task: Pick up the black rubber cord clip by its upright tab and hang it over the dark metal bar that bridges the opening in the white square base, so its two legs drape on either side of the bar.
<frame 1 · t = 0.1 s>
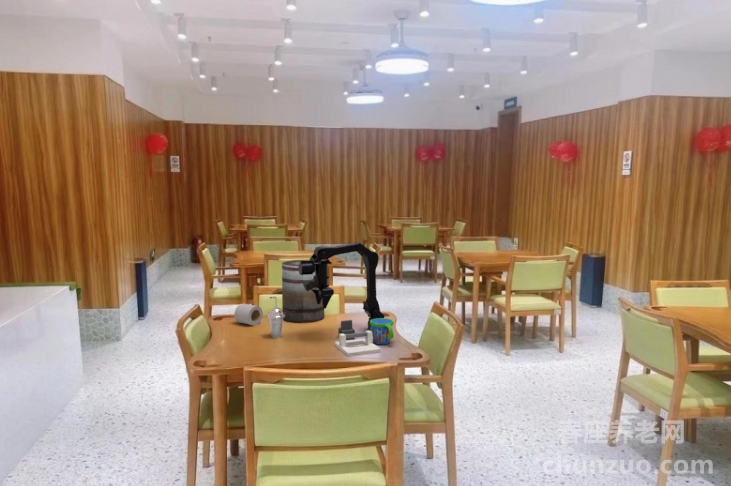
hand: (321, 306, 232), 15 cm above the table, tool pointing down, fingers open, 9 cm apart
white square base: (355, 347, 218), on the table
barrel: (303, 318, 268), on the table
toilet paper: (248, 324, 255), on the table
cord clip: (346, 338, 231), on the table
cup with straw: (275, 336, 233), on the table
snack cup: (381, 343, 225), on the table
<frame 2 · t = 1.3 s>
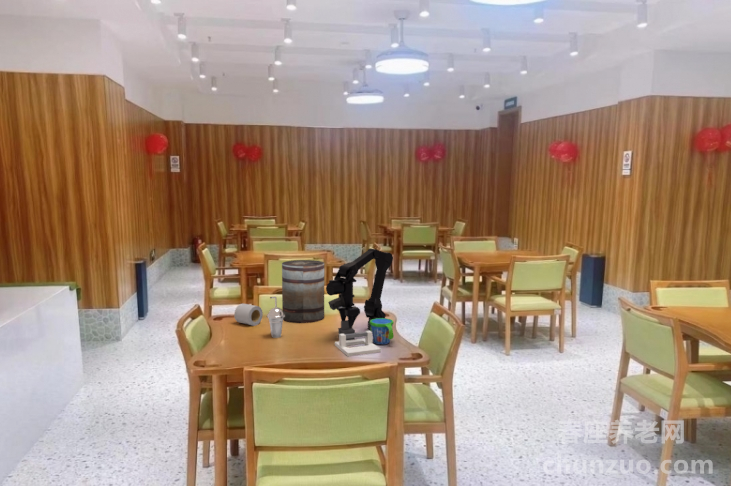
hand: (346, 325, 231), 6 cm above the table, tool pointing down, fingers open, 9 cm apart
nothing on the table moved.
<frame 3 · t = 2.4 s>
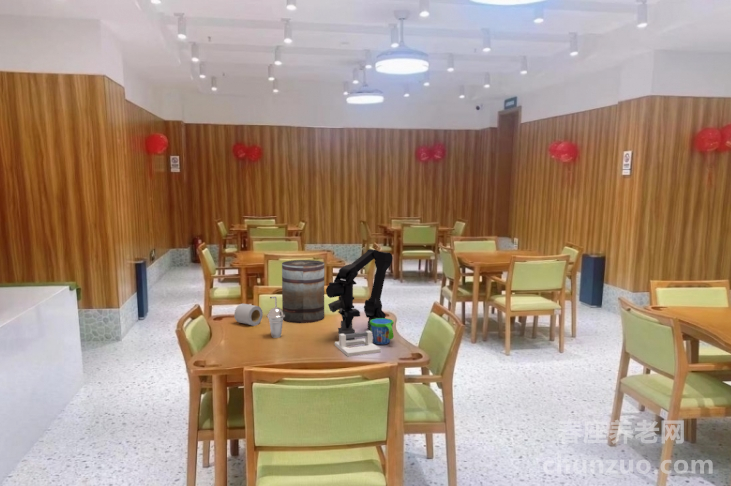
hand: (346, 327, 231), 5 cm above the table, tool pointing down, fingers closed on cord clip
cord clip: (346, 338, 231), on the table, touching gripper
everything else where it was.
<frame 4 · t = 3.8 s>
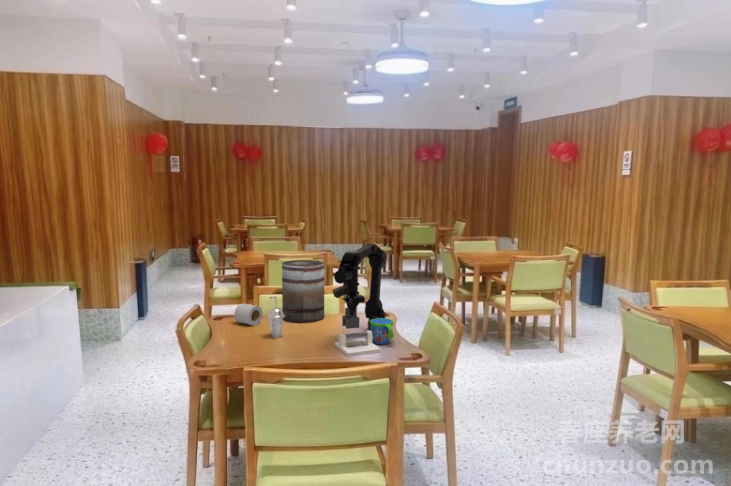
hand: (351, 314, 222), 13 cm above the table, tool pointing down, fingers closed on cord clip
cord clip: (350, 326, 222), point 8 cm above the table, touching gripper
everything else where it was.
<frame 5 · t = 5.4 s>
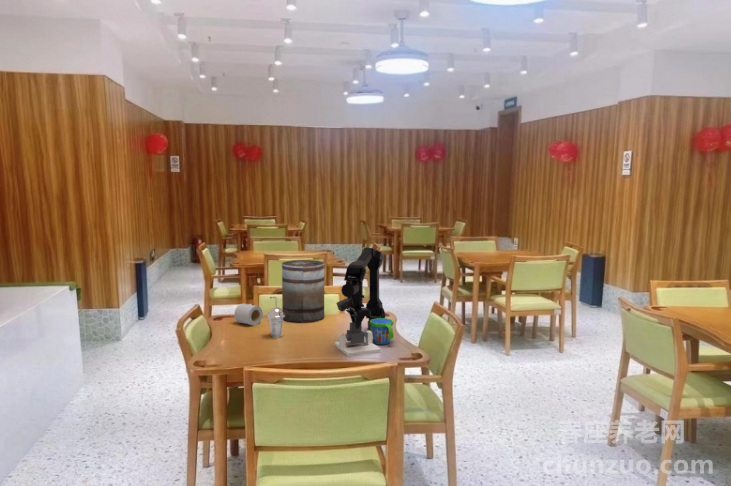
hand: (355, 327, 217), 9 cm above the table, tool pointing down, fingers open, 3 cm apart
cord clip: (355, 341, 218), point 3 cm above the table, touching white square base
everything else where it was.
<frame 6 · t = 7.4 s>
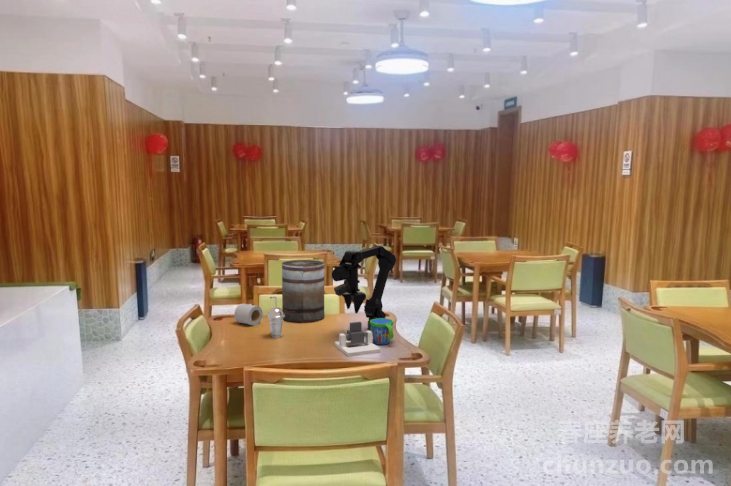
hand: (352, 310, 232), 13 cm above the table, tool pointing down, fingers open, 9 cm apart
nothing on the table moved.
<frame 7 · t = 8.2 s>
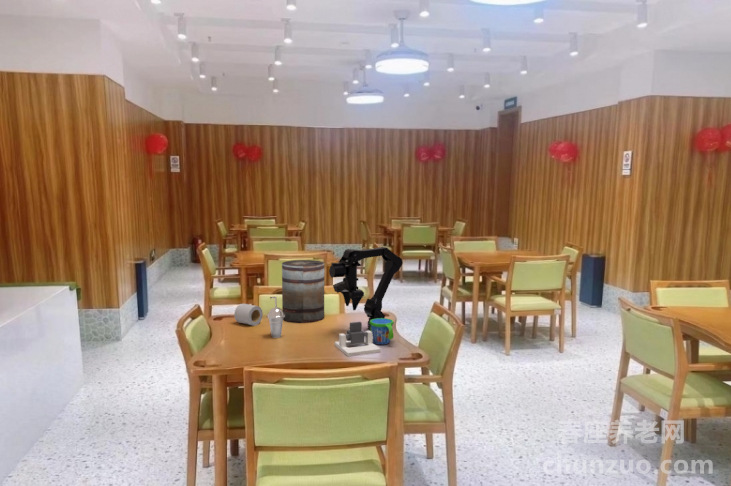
hand: (350, 308, 236), 13 cm above the table, tool pointing down, fingers open, 9 cm apart
nothing on the table moved.
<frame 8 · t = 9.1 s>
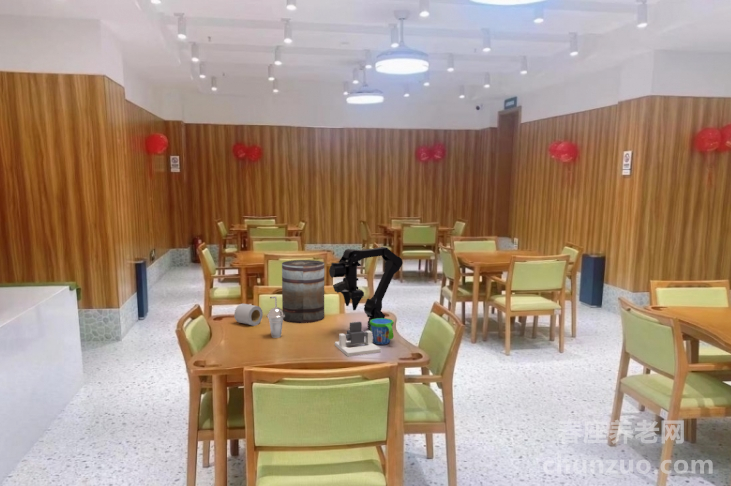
hand: (350, 308, 236), 13 cm above the table, tool pointing down, fingers open, 9 cm apart
nothing on the table moved.
at the end: cord clip 0.1 cm off-centre on the white square base, point 2.7 cm above the white square base's base; cord clip touching white square base; cord clip tilted 0° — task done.
